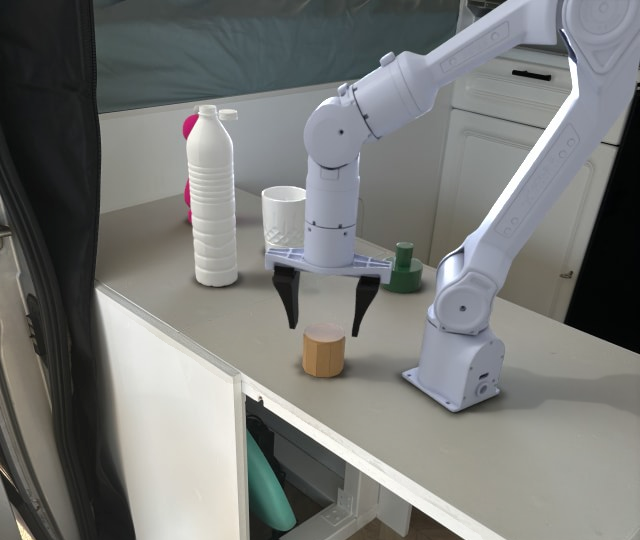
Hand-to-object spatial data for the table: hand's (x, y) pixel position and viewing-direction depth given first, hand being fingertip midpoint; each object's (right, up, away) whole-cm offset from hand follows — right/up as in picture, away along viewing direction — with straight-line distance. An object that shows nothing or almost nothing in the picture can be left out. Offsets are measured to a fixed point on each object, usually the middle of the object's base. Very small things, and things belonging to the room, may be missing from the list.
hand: (324, 329), depth 80 cm
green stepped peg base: (+12, +11, +24) cm, 29 cm away
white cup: (-7, +18, +33) cm, 38 cm away
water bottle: (-16, +11, +22) cm, 29 cm away
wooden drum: (0, -4, +3) cm, 5 cm away
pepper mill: (-22, +27, +43) cm, 55 cm away
